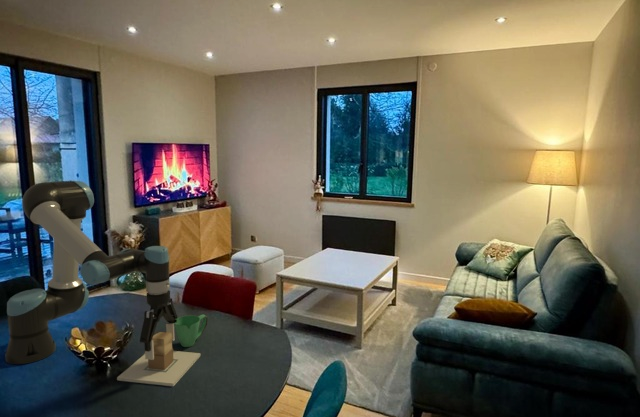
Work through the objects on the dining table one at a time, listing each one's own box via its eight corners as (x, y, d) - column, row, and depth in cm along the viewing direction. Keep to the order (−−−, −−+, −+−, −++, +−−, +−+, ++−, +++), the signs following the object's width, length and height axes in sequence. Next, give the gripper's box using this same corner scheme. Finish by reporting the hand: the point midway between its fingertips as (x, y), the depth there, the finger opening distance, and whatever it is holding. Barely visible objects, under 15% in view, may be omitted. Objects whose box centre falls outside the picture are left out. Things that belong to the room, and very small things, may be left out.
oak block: (151, 354, 137) (150, 338, 136) (159, 347, 142) (158, 331, 141) (164, 355, 136) (164, 339, 136) (172, 348, 141) (171, 332, 141)
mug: (186, 352, 151) (185, 327, 149) (169, 345, 156) (168, 321, 154) (214, 337, 163) (214, 314, 162) (198, 332, 168) (197, 309, 167)
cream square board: (117, 380, 132) (116, 363, 131) (151, 351, 151) (150, 336, 151) (173, 386, 129) (172, 369, 128) (200, 355, 149) (200, 340, 148)
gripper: (147, 305, 124) (150, 368, 126) (185, 280, 148) (187, 334, 151) (125, 303, 125) (129, 366, 127) (167, 279, 149) (169, 332, 152)
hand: (160, 349), depth 139 cm, fingers open, 13 cm apart
